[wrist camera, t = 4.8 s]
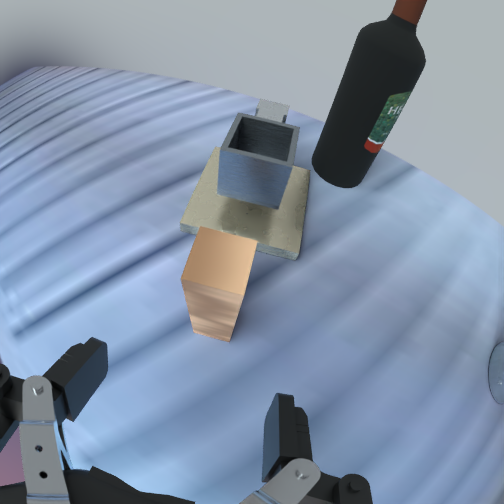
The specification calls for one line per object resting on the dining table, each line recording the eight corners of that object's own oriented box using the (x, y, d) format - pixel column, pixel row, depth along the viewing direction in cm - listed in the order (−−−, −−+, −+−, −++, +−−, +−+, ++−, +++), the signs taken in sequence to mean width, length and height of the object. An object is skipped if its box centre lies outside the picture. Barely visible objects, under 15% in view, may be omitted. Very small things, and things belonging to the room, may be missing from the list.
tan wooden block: (237, 308, 26) (257, 240, 15) (229, 342, 24) (243, 295, 14) (203, 299, 26) (200, 226, 15) (194, 332, 24) (180, 278, 14)
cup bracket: (307, 178, 35) (332, 115, 26) (295, 260, 29) (329, 198, 20) (214, 155, 35) (219, 88, 26) (180, 231, 29) (172, 159, 20)
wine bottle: (324, 142, 39) (392, -42, 13) (368, 168, 38) (458, -10, 12) (302, 167, 36) (378, -56, 10) (352, 197, 35) (463, -18, 9)
